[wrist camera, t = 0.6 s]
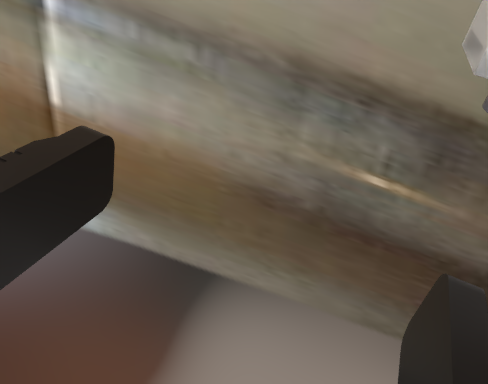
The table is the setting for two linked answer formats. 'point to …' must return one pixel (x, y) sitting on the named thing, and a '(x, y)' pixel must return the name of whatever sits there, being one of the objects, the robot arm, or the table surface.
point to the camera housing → (478, 44)
